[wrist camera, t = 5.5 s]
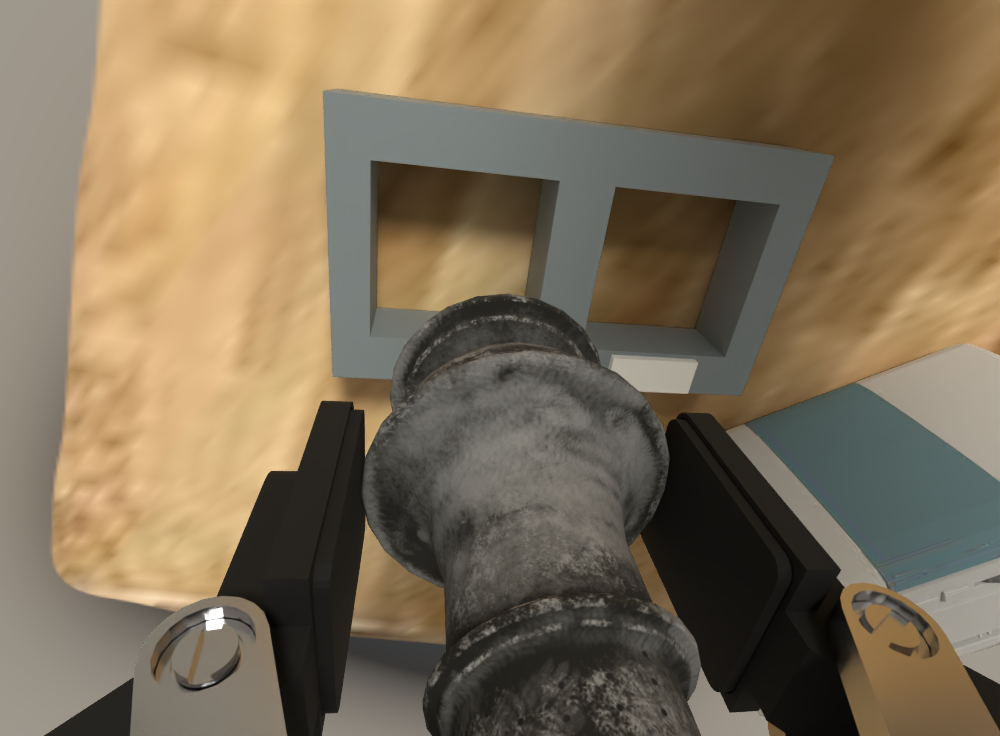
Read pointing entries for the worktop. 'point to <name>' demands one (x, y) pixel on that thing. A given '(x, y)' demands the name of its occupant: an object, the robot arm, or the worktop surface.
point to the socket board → (570, 227)
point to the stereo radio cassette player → (901, 483)
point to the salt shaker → (529, 527)
